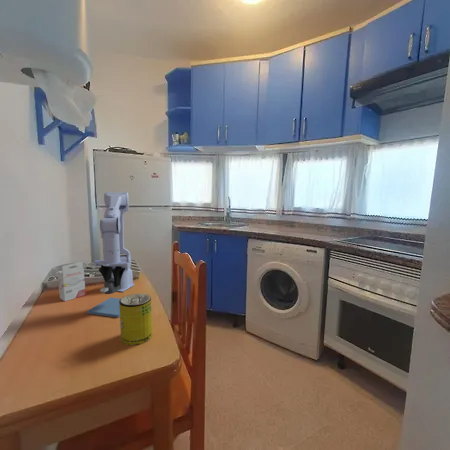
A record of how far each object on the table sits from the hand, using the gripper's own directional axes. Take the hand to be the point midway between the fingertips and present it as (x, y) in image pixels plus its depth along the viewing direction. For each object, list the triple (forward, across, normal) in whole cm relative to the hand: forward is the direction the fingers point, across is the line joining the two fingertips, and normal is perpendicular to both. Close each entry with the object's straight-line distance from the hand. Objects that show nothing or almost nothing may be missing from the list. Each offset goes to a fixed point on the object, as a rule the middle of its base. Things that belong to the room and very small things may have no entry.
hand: (113, 285), depth 100 cm
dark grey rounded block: (+2, 0, 0) cm, 2 cm away
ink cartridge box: (+9, -24, +5) cm, 26 cm away
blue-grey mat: (+9, 0, 0) cm, 9 cm away
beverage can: (+9, +20, -16) cm, 27 cm away
